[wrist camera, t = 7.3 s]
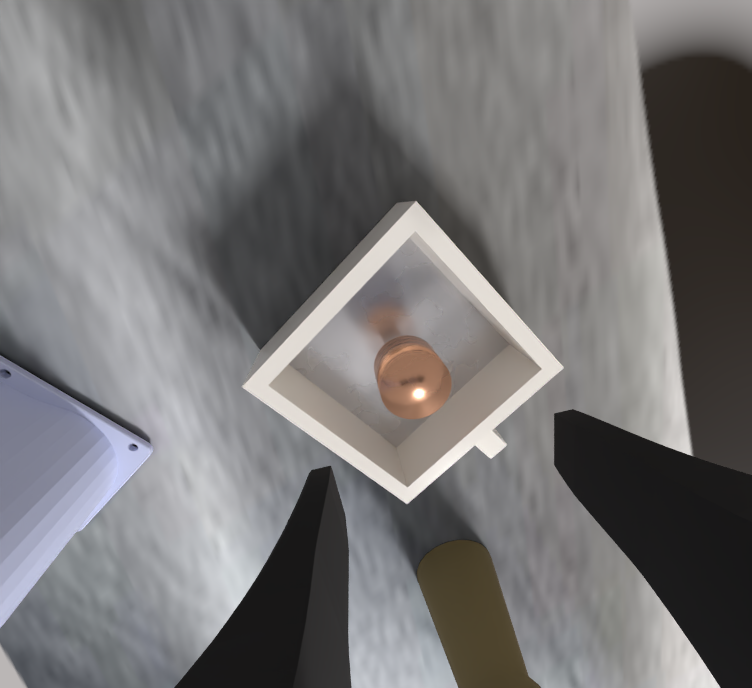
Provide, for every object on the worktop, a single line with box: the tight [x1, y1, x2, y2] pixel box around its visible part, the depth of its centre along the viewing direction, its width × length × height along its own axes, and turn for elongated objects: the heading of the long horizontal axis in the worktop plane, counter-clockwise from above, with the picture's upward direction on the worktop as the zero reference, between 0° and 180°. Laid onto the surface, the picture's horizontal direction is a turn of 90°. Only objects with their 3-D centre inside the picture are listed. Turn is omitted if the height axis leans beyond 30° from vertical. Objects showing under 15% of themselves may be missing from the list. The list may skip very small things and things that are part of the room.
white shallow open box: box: [242, 201, 564, 504], centre depth 19 cm, size 13×11×4 cm
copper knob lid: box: [289, 238, 509, 447], centre depth 18 cm, size 9×9×5 cm
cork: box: [417, 540, 541, 688], centre depth 23 cm, size 6×6×11 cm
